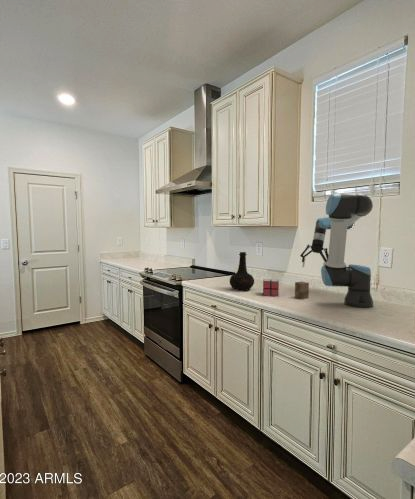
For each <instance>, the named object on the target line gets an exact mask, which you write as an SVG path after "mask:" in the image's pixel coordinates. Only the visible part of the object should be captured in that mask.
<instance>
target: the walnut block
mask: <svg viewBox="0 0 415 499" xmlns="http://www.w3.org/2000/svg"><path fill="white" fill-rule="evenodd" d="M294 283H295V284H294V298H295V299H299V300H305V299H309V298H310V297H309V293H310V292H309V290H310V283H309V282H307V281H306V282H305V281H295V282H294Z"/></svg>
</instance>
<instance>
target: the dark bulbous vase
mask: <svg viewBox="0 0 415 499" xmlns="http://www.w3.org/2000/svg"><path fill="white" fill-rule="evenodd" d="M246 253H247V252H246V251H239V254H238V255H239V263H238V267H237V271H236V273H233V274H231V276H230V277H229V284H230V286H231V288H232V289H233V290H236V291H240V292H241V291H243V292H246V291H249V290H251V289H252V288H253V286H254V284H255V278H254V277H253V276H254V275H252V274H250V273H248V271H247V270H248V269H247V257H246V256H247V254H246Z"/></svg>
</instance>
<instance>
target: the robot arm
mask: <svg viewBox="0 0 415 499" xmlns="http://www.w3.org/2000/svg"><path fill="white" fill-rule="evenodd" d="M373 206H374V205H373V201H372V199H371V198H370V196H368V195H366V194H364V193H360V192H356V193H355V192H354V193H353V192H352V193H351V192H350V193H348V192H344V193H343V192H342V193H338V192H337V193H332V194H330V195H329V197H328V198H327V201H326V205H325V214H326V215H328V216H323V217H318V218H317V219H316V222H315V226H314V232H313V239H312V242H311V244H307V245H306V247H305V249H304V250H303V251H302V252H301V254H300V256H299V257H301V263H302V266H301V267H302V268H304V267H305V262H306V257H308V256H309V255H310V254H312V252H313V253H315V254H319V256H320V257H321V259H322V260H323V261H324V262H323V263H322V266H321V268H320V273H321V274H320V275H321V279H322V282H323V284H324V285H325V286H326V287H345V288H346V287H347V293H346V294H345V297H344V304H345V305H346V306H349V307H354V308H366V309H367V308H368V309H369V308H373V307H374V300H373V298H372V294H371V280H372V272H371V270H372V269H371V268H370V267H368V266H365V265H360V264H359V265H358V264H350V263H349V264H348V265H347V263H346V262H345V255H346V244H347V234H348V230H351V229H350V228H352V226H353V224H354V225H355V223H356V222H357V221H358V220H360V218H362V217H366V216H367V215H369V214H370V213H371V212H372V210H373ZM327 230H330V233H329V243H328V244H329V245H328V248H327V247H324V243H325V238H326V237H325V236H326V233H327V232H326V231H327ZM309 249H311V250H310V251H308V250H309ZM307 251H308V252H307ZM306 252H307V253H306Z"/></svg>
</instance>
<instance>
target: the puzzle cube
mask: <svg viewBox="0 0 415 499" xmlns="http://www.w3.org/2000/svg"><path fill="white" fill-rule="evenodd" d="M262 295H263V297H279V279H277V278H276V279H275V278H263V280H262Z"/></svg>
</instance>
